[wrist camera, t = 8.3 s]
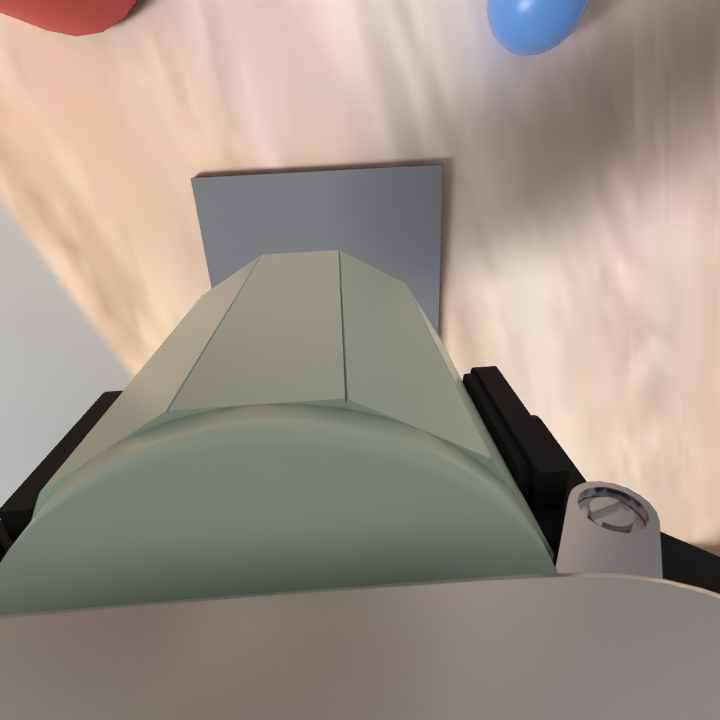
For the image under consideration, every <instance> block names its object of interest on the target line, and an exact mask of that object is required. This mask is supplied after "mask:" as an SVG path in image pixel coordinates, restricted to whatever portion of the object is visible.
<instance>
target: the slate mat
mask: <svg viewBox="0 0 720 720" xmlns="http://www.w3.org/2000/svg"><path fill="white" fill-rule="evenodd" d="M191 182H192V187H193V193H194V198H195V203H196V208H197V213H198V219H199V224H200V229H201V234H202V240H203V245H204V250H205V255H206V261H207V266H208V271H209V276H210V281H211V287H212V288H214V287H215V286H217V285H218V284H220V283H221V282H223V281H224V280H226V279H227V278H228V277H230V276H231V275H233V274H234V273H236V272H237V271H239V270H240V269H241V268H243V267H244V266H246V265H247V264H249V263H250V262H252V261H253V260H255V259H256V258H257V257H259V256H260V255H262V254H278V253H295V252H312V251H329V250H339V251H342V252H344V253H346V254H348V255H350V256H352V257H354V258H356V259H358V260H360V261H362V262H364V263H366V264H368V265H370V266H372V267H374V268H376V269H378V270H380V271H382V272H384V273H386V274H388V275H390V276H392V277H394V278H396V279H398V280H400V281H402V282H404V283H405V284H407V286H408V288H409V289H410V291H411V293H412V294H413V296H414V297H415V299H416V301H417V302H418V304H419V305H420V307H421V309H422V310H423V312H424V314H425V315H426V317H427V318H428V320H429V322H430V323H431V325H432V326H433V328H434V330H435V331H436V333H437V335H438V328H439V292H440V255H441V219H442V182H443V165H442V164H438V165H419V166H400V167H382V168H363V169H345V170H326V171H308V172H289V173H270V174H252V175H233V176H215V177H196V178H191Z"/></svg>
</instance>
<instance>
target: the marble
mask: <svg viewBox="0 0 720 720" xmlns="http://www.w3.org/2000/svg"><path fill="white" fill-rule="evenodd" d="M587 4H588V0H488V3H487V11H488V19H489V24H490V27H491V29H492V32H493V34H494V36H495V37H496V39H497V40H498V41H499V43H500V44H501V45H502V46H503V47H505V48H506V49H507V50H509V51H511V52H513V53H516V54H521V55H536V54H540V53H543V52H546V51H548V50H550V49H552V48H554V47H555V46H557V45H558V44H560V43H561V42H562V41H563V40H565V39H566V38H567V37H568V36H569V35H570V33H571V32H572V31H573V30H574V29H575V27H576V26H577V24H578V23H579V21H580V19H581V17H582V15H583V14H584V11H585V9H586V6H587Z"/></svg>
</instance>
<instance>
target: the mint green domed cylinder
mask: <svg viewBox="0 0 720 720" xmlns="http://www.w3.org/2000/svg"><path fill="white" fill-rule="evenodd" d="M553 557H554V554H553V551H552V549H551V547H550V546H549V544H548V542H547V540H546V538H545V536H544V534H543V532H542V530H541V529H540V527H539V525H538V523H537V521H536V519H535V517H534V515H533V513H532V512H531V510H530V508H529V506H528V504H527V502H526V500H525V498H524V496H523V495H522V493H521V491H520V490H519V488H518V486H517V484H516V482H515V480H514V478H513V476H512V474H511V473H510V471H509V469H508V467H507V465H506V463H505V461H504V459H503V457H502V456H501V454H500V452H499V450H498V448H497V446H496V444H495V442H494V440H493V438H492V437H491V435H490V433H489V431H488V429H487V427H486V425H485V423H484V421H483V419H482V418H481V416H480V414H479V412H478V410H477V408H476V406H475V404H474V402H473V401H472V399H471V397H470V395H469V393H468V391H467V389H466V387H465V385H464V383H463V381H462V379H461V377H460V375H459V373H458V372H457V370H456V368H455V366H454V364H453V362H452V360H451V358H450V356H449V355H448V353H447V351H446V349H445V347H444V345H443V343H442V341H441V339H440V338H439V336H438V335H437V333H436V331H435V330H434V328H433V326H432V325H431V323H430V322H429V320H428V318H427V317H426V315H425V314H424V312H423V310H422V309H421V307H420V305H419V304H418V302H417V301H416V299H415V297H414V296H413V294H412V293H411V291H410V289H409V288H408V286H407V284H405V283H404V282H402V281H400V280H398V279H396V278H394V277H392V276H390V275H388V274H386V273H384V272H382V271H380V270H378V269H376V268H374V267H372V266H370V265H368V264H366V263H364V262H362V261H360V260H358V259H356V258H354V257H352V256H350V255H348V254H346V253H344V252H342V251H339V250H329V251H312V252H295V253H278V254H262V255H260V256H259V257H257V258H256V259H255V260H253V261H252V262H250V263H249V264H247V265H246V266H244V267H243V268H241V269H240V270H239V271H237V272H236V273H234V274H233V275H231V276H230V277H228V278H227V279H226V280H224V281H223V282H221V283H220V284H218V285H217V286H215V287H214V288H212V289H211V290H210V291H208V292H207V293H205V294H204V295H202V297H201V298H200V299H199V300H198V301H197V303H196V304H195V305H194V306H193V307H192V309H191V310H190V311H189V312H188V313H187V315H186V316H185V317H184V318H183V320H182V321H181V322H180V323H179V324H178V326H177V327H176V328H175V329H174V330H173V332H172V333H171V334H170V335H169V336H168V338H167V339H166V340H165V341H164V342H163V344H162V345H161V346H160V347H159V349H158V350H157V351H156V352H155V353H154V355H153V356H152V357H151V358H150V359H149V361H148V362H147V363H146V364H145V365H144V367H143V368H142V369H141V370H140V372H139V373H138V374H137V375H136V376H135V378H134V379H133V380H132V381H131V382H130V384H129V385H128V386H127V387H126V388H125V390H124V391H123V392H122V393H121V394H120V396H119V397H118V398H117V399H116V401H115V402H114V403H113V404H112V405H111V407H110V408H109V409H108V410H107V411H106V413H105V414H104V415H103V416H102V417H101V419H100V420H99V421H98V422H97V424H96V425H95V426H94V427H93V428H92V430H91V431H90V432H89V433H88V434H87V436H86V437H85V438H84V439H83V440H82V442H81V443H80V444H79V445H78V446H77V448H76V449H75V450H74V451H73V453H72V454H71V455H70V456H69V457H68V459H67V460H66V461H65V462H64V463H63V465H62V466H61V467H60V468H59V469H58V471H57V472H56V473H55V474H54V476H53V477H52V478H51V479H50V480H49V482H48V483H47V484H46V485H45V486H44V488H43V489H42V490H41V491H40V493H39V496H38V499H37V503H36V506H35V510H34V513H33V517H32V520H31V522H30V523H29V525H28V526H27V527H26V528H25V530H24V531H23V532H22V534H21V535H20V536H19V537H18V539H17V540H16V541H15V542H14V544H13V545H12V546H11V548H10V549H9V550H8V552H7V553H6V555H5V556H4V558H3V559H2V561H1V562H0V615H6V614H18V613H29V612H40V611H52V610H64V609H76V608H88V607H100V606H112V605H123V604H135V603H147V602H159V601H171V600H183V599H196V598H209V597H221V596H234V595H247V594H259V593H272V592H285V591H298V590H311V589H324V588H337V587H351V586H365V585H379V584H393V583H407V582H420V581H434V580H448V579H462V578H478V577H495V576H509V575H522V574H551V573H558V571H557V570H556V568H555V566H554V564H553Z"/></svg>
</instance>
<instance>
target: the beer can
mask: <svg viewBox="0 0 720 720" xmlns="http://www.w3.org/2000/svg"><path fill="white" fill-rule="evenodd" d="M136 1H137V0H0V13H3V14H6V15H8V16H11V17H14V18H16V19H19V20H21V21H24V22H27V23H29V24H32V25H34V26H37V27H40V28H42V29H45V30H48V31H53V32H58V33H63V34H67V35H72V36H81V35H87V34H93V33H99V32H103V31H105V30H106V29H108V28H109V27H111V26H112V25H114V24H116V23H117V22H119V21H120V20H122V19H123V18H125V17H126V15H127V14H128V12H129V11H130V9H131V8H132V6H133V5H134V3H135V2H136Z"/></svg>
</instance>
